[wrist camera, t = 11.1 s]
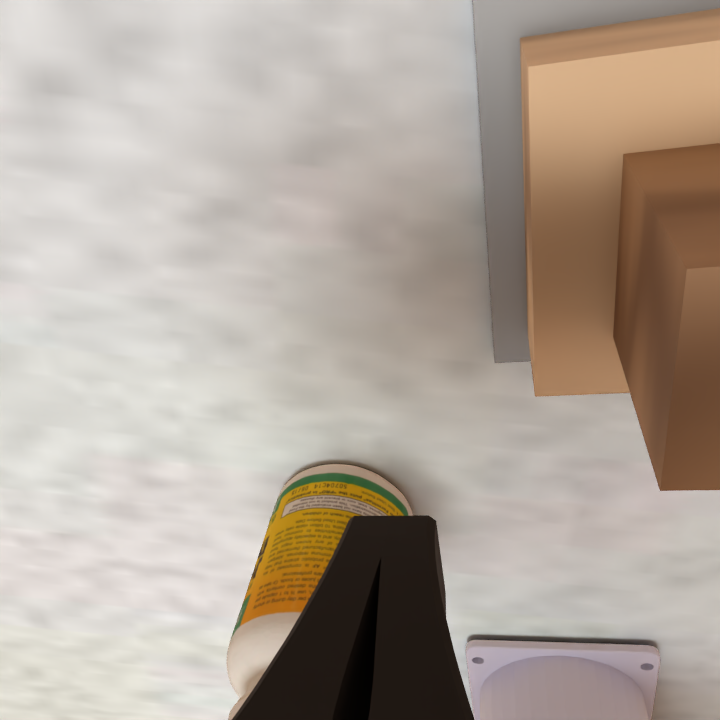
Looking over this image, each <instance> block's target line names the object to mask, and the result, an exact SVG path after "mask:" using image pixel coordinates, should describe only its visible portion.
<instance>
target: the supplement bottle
mask: <svg viewBox="0 0 720 720" xmlns="http://www.w3.org/2000/svg"><path fill="white" fill-rule="evenodd" d="M353 516H413V514H412V511H411V508H410V506H409V504H408V502H407V500H406V498H405V497H404V495H403V494H402V493H401V492H400V491H399V490H398V489H397V488H396V487H395V486H393V485H392V484H391V483H389V482H388V481H387V480H385V479H384V478H382V477H381V476H379V475H378V474H376V473H374V472H371V471H369V470H366V469H364V468H361V467H357V466H352V465H344V464H329V465H321V466H316V467H313V468H310V469H307V470H304V471H302V472H301V473H299V474H297V475H296V476H294V477H293V478H292V479H291V480H290V481H288V482H287V484H286V485H285V486H284V487H283V489H282V490H281V492H280V494H279V496H278V499H277V502H276V505H275V507H274V510H273V513H272V516H271V519H270V522H269V525H268V529H267V532H266V535H265V538H264V541H263V544H262V547H261V550H260V553H259V556H258V559H257V562H256V565H255V569H254V572H253V574H252V577H251V580H250V583H249V586H248V589H247V593H246V596H245V599H244V602H243V605H242V608H241V610H240V613H239V616H238V619H237V622H236V625H235V628H234V631H233V634H232V637H231V640H230V644H229V648H228V652H227V671H228V676H229V679H230V682H231V685H232V687H233V688H234V690H235V692H236V693H237V695H238V696H239V698H240V699H239V700H238V702H237V703H236V704H235V705H234V707H233V708H232V710H231V711H230V714H229V718H228V720H232V719H233V717H234V716H235V714H236V713H237V712H238V710H239V709H240V707H241V706H242V705H243V703H244V702H245V700H246V699H247V697H248V696H249V695H250V693H251V692H252V690H253V689H254V687H255V686H256V684H257V683H258V681H259V680H260V678H261V677H262V675H263V674H264V672H265V671H266V669H267V667H268V666H269V664H270V663H271V661H272V660H273V658H274V657H275V655H276V654H277V652H278V650H279V649H280V647H281V646H282V644H283V643H284V641H285V640H286V638H287V636H288V635H289V633H290V631H291V630H292V628H293V626H294V624H295V623H296V621H297V619H298V618H299V616H300V614H301V612H302V611H303V609H304V607H305V605H306V604H307V602H308V600H309V598H310V597H311V595H312V593H313V591H314V590H315V588H316V586H317V584H318V582H319V580H320V578H321V577H322V575H323V573H324V571H325V569H326V567H327V565H328V563H329V561H330V559H331V557H332V555H333V553H334V551H335V549H336V547H337V545H338V543H339V541H340V539H341V537H342V534H343V532H344V530H345V528H346V525H347V523H348V521H349V520H350V519H351V518H352V517H353Z"/></svg>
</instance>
